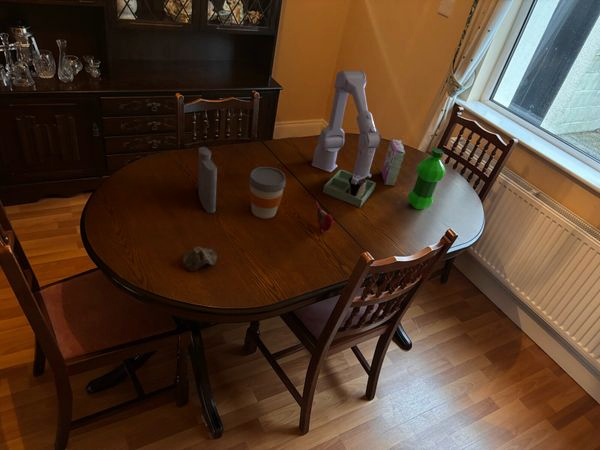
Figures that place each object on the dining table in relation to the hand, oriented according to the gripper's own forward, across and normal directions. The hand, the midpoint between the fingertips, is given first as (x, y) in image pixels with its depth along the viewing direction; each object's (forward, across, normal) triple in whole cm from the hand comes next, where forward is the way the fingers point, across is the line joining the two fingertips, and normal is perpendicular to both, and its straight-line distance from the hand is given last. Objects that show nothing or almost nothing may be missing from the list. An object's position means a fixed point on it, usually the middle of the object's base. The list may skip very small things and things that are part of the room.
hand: (356, 191), depth 175 cm
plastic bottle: (+3, +13, -23) cm, 27 cm away
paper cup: (+2, 0, 0) cm, 2 cm away
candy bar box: (+3, +25, -6) cm, 26 cm away
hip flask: (+3, -38, +44) cm, 58 cm away
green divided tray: (+3, +4, +4) cm, 6 cm away
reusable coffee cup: (+3, -30, +24) cm, 39 cm away
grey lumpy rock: (+4, -66, +25) cm, 71 cm away
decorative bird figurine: (+3, -26, +3) cm, 26 cm away
